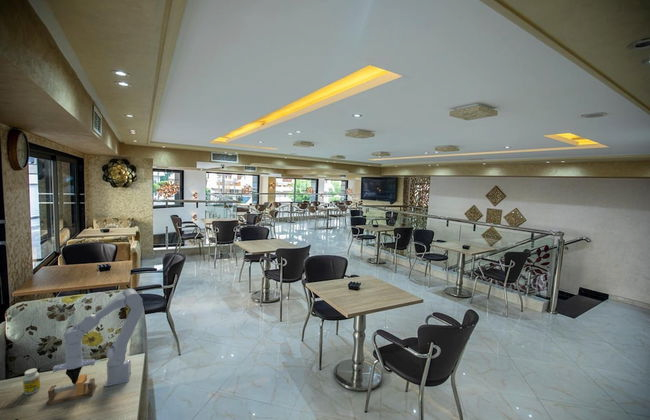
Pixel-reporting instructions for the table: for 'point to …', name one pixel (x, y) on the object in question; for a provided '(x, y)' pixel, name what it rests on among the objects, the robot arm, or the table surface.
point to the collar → (81, 385)
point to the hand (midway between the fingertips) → (75, 382)
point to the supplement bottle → (31, 381)
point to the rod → (68, 387)
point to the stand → (69, 394)
